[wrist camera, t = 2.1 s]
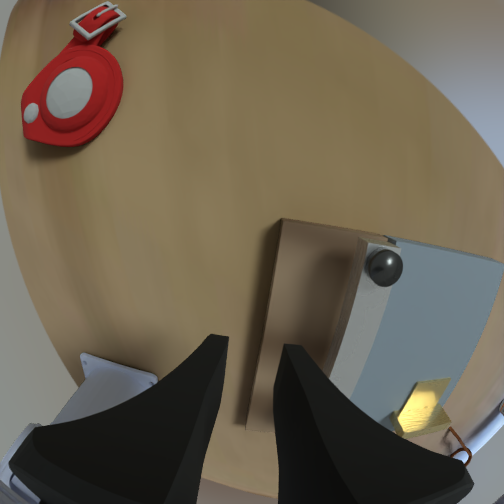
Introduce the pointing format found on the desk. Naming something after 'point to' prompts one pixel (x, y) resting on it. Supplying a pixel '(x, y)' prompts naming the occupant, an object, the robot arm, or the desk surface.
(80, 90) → the tracker holder
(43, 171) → the desk surface
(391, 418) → the brass keeper
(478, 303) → the door panel
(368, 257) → the bar
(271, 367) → the jamb board
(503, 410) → the pill bottle
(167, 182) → the desk surface
